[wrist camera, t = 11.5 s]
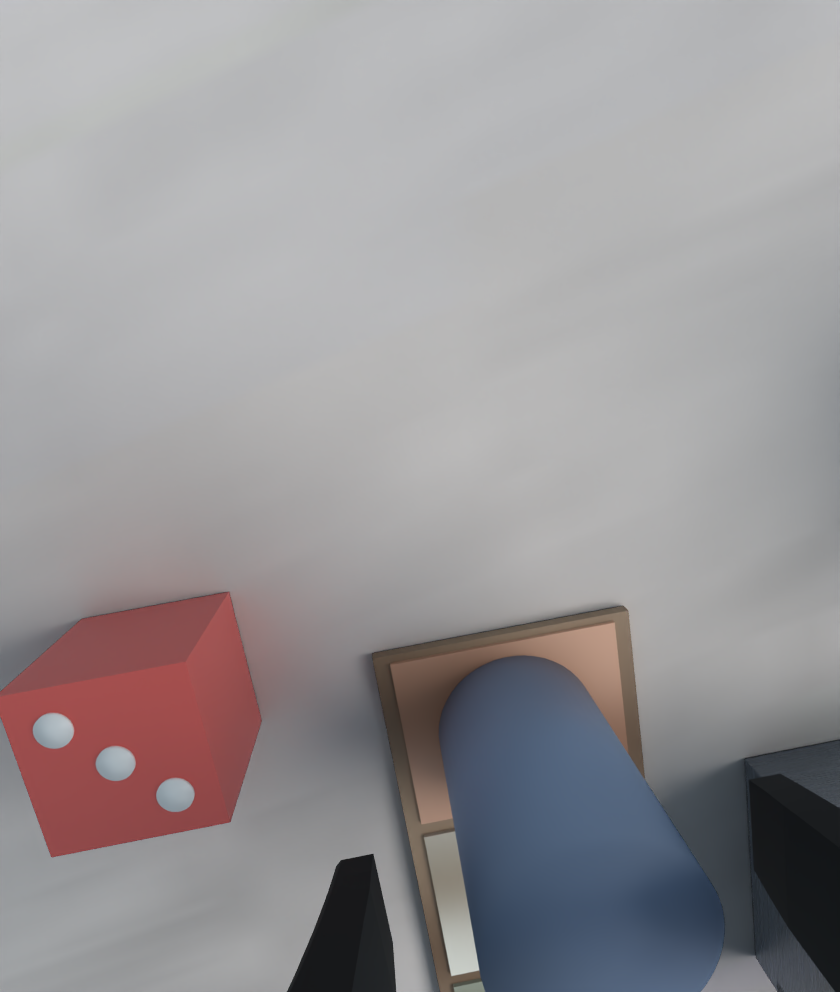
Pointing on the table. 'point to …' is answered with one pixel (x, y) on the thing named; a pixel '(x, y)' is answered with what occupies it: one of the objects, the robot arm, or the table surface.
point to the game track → (418, 760)
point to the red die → (135, 725)
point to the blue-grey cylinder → (567, 844)
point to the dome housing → (794, 975)
